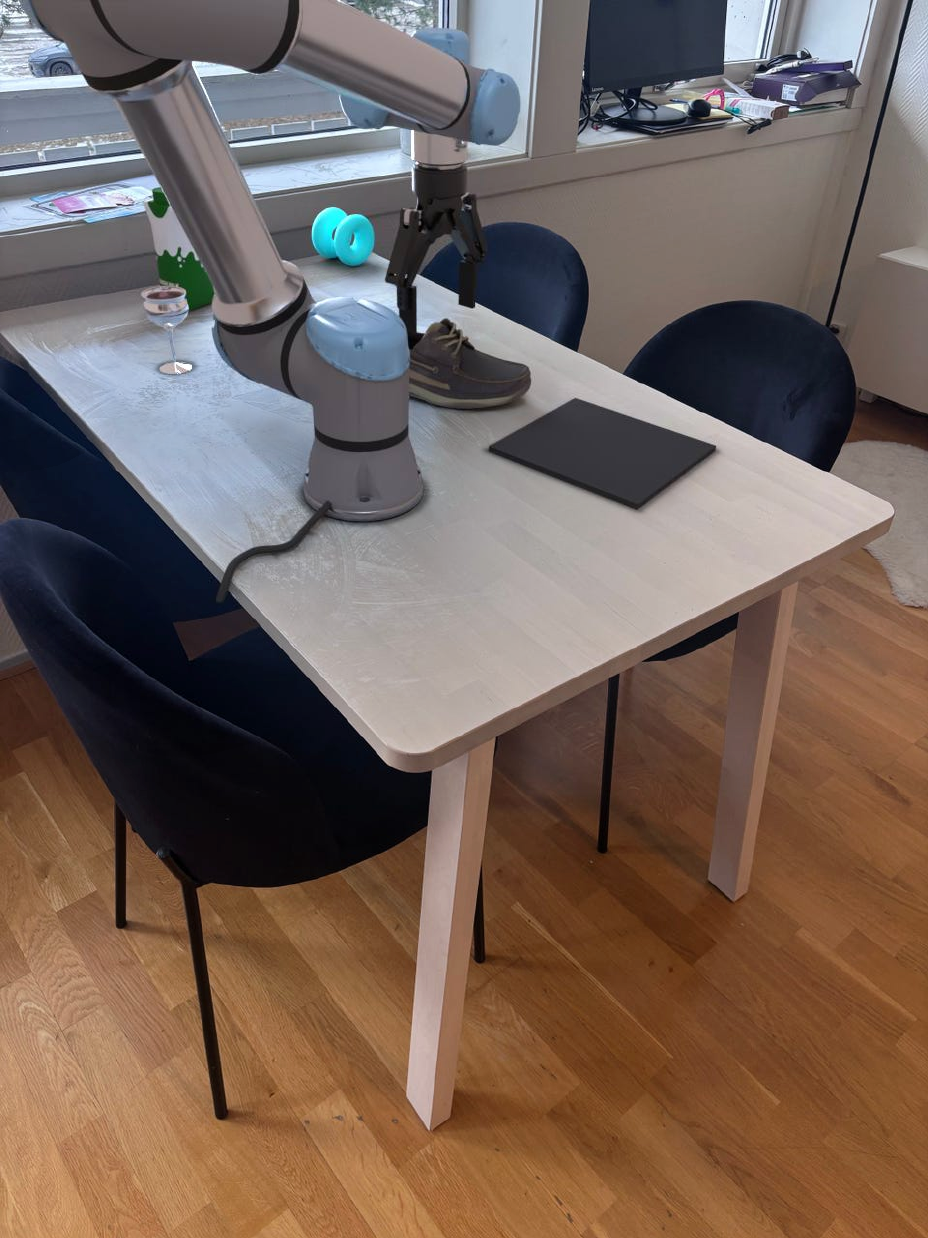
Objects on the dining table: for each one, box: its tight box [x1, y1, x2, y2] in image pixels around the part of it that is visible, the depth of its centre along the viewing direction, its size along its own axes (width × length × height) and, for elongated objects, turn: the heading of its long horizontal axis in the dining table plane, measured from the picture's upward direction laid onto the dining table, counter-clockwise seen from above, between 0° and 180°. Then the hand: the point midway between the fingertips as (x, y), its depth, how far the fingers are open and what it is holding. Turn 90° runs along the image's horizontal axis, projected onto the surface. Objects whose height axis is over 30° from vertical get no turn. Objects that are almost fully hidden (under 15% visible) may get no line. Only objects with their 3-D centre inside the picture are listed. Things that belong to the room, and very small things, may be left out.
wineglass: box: [140, 285, 192, 375], centre depth 150 cm, size 7×7×12 cm
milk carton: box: [142, 186, 215, 312], centre depth 172 cm, size 9×9×20 cm
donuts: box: [311, 207, 375, 267], centre depth 197 cm, size 10×10×10 cm
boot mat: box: [488, 397, 717, 510], centre depth 135 cm, size 22×24×1 cm
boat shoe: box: [407, 317, 532, 410], centre depth 146 cm, size 11×29×11 cm, turn 78°
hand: (438, 317), depth 142 cm, fingers open, 13 cm apart
